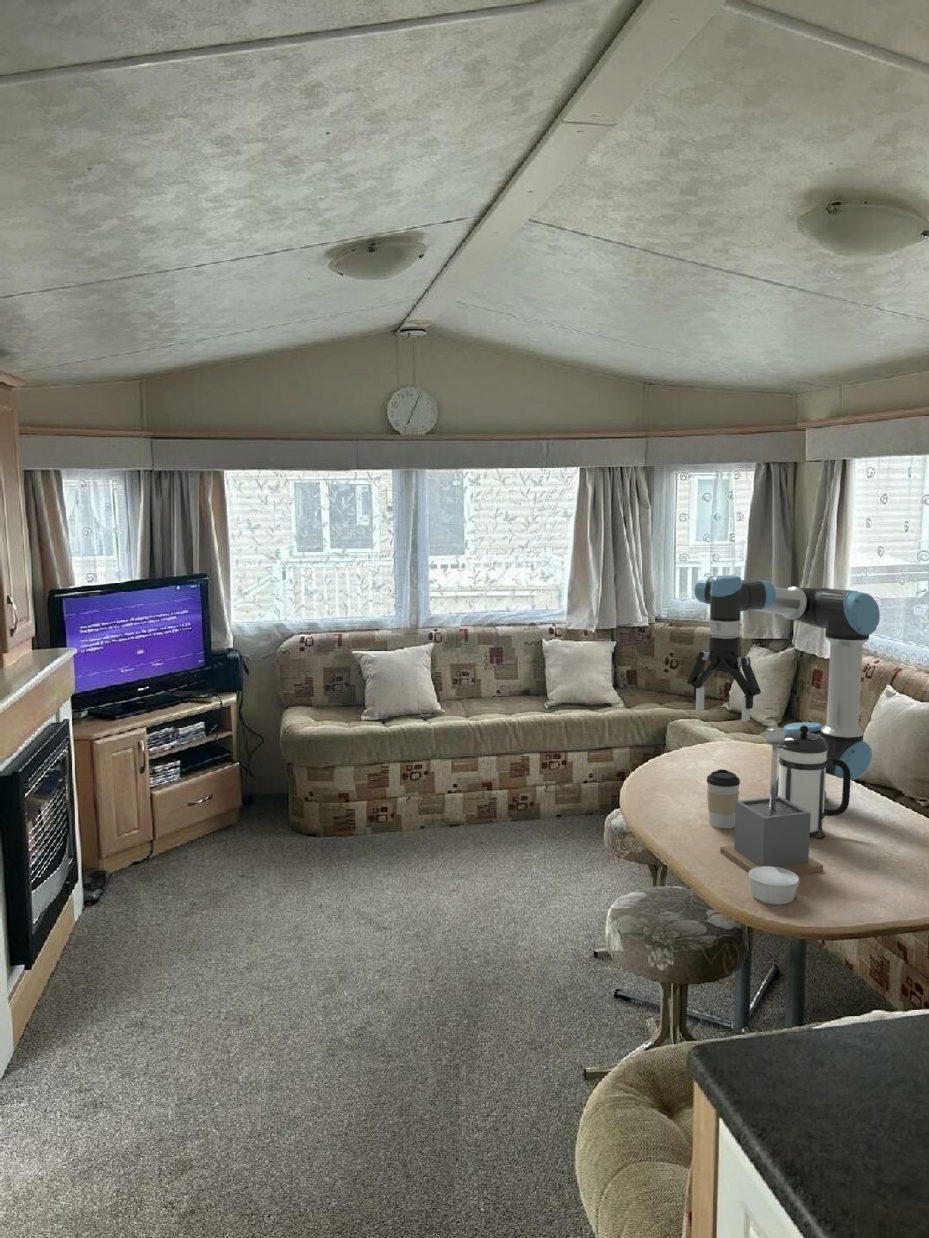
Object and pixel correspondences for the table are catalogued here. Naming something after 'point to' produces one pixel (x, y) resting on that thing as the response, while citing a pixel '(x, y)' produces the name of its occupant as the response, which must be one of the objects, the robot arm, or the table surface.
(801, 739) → the coffee press
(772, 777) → the plunger
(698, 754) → the table surface
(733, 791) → the coffee cup
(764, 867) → the ramekin
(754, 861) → the square grey bin
